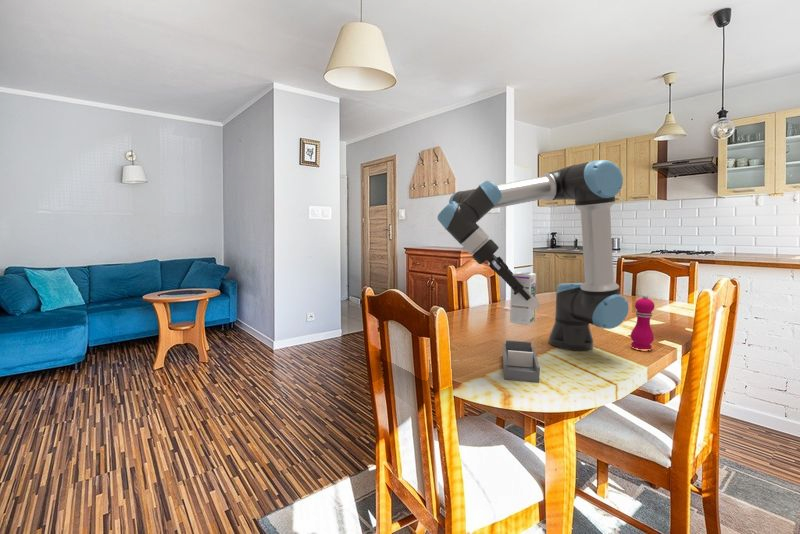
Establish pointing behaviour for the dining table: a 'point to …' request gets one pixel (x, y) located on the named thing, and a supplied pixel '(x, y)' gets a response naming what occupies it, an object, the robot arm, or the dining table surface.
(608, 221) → the robot arm
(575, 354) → the dining table surface
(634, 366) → the dining table surface
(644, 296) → the pepper mill
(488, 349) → the dining table surface
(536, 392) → the dining table surface
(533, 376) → the grey card holder
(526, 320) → the syrup box
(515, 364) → the block
